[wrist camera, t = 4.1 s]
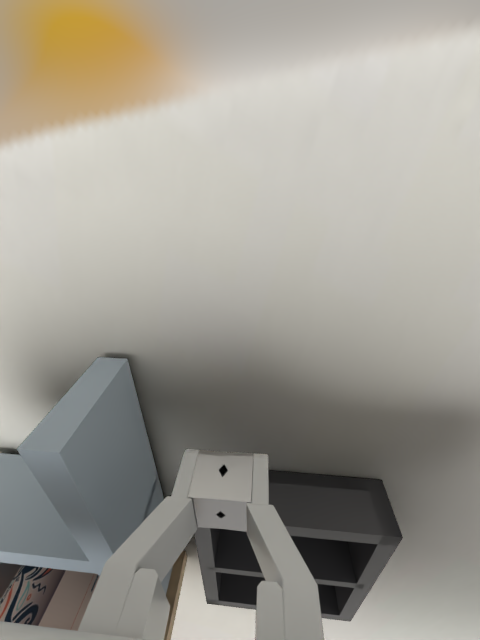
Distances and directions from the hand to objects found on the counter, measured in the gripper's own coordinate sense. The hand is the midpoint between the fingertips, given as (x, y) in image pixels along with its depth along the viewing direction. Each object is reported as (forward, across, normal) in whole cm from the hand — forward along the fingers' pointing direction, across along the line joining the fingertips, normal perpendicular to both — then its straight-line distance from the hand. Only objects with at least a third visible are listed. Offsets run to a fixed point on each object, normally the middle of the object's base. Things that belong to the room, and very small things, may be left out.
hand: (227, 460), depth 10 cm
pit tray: (+2, -3, +10) cm, 10 cm away
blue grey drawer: (+2, +9, +5) cm, 10 cm away
